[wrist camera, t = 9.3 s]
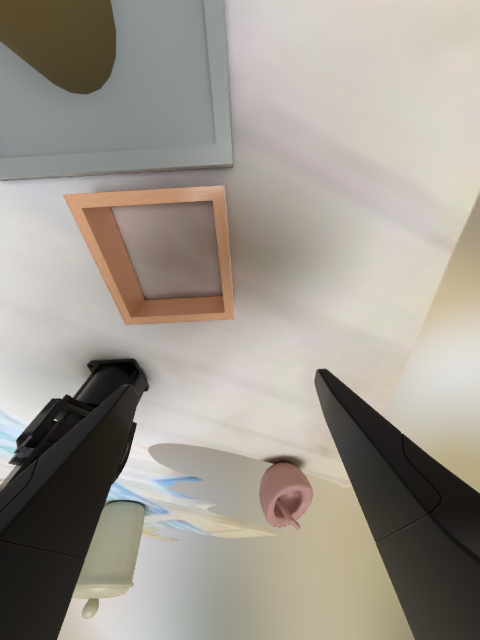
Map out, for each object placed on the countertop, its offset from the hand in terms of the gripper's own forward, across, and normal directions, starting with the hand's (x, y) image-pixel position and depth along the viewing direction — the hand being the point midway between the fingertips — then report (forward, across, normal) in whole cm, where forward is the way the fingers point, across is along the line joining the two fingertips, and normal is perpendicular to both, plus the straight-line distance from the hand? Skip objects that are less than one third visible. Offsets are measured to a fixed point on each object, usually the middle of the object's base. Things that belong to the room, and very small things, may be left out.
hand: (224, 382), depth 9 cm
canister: (+14, +45, +78) cm, 91 cm away
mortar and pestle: (+13, -7, +50) cm, 52 cm away
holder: (+13, +5, -3) cm, 14 cm away
